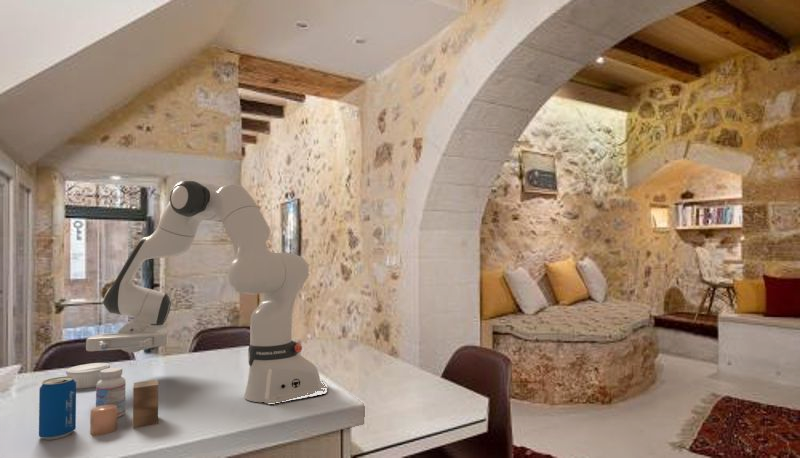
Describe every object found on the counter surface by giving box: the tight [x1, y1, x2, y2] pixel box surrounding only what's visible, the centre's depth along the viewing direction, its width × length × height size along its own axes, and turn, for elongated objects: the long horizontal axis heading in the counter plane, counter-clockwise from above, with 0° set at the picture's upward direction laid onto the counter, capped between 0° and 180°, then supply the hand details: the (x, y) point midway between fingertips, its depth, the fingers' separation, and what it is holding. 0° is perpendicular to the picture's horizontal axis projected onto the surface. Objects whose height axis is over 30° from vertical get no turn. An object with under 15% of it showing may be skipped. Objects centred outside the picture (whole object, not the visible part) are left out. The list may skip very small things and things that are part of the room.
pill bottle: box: [95, 366, 127, 418], centre depth 111 cm, size 6×6×11 cm
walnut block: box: [132, 378, 159, 429], centre depth 106 cm, size 5×5×9 cm
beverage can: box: [38, 375, 77, 441], centre depth 100 cm, size 6×6×12 cm
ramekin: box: [65, 362, 111, 390], centre depth 138 cm, size 11×11×5 cm
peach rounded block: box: [89, 404, 118, 436], centre depth 102 cm, size 5×5×5 cm
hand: (122, 346), depth 123 cm, fingers open, 8 cm apart
